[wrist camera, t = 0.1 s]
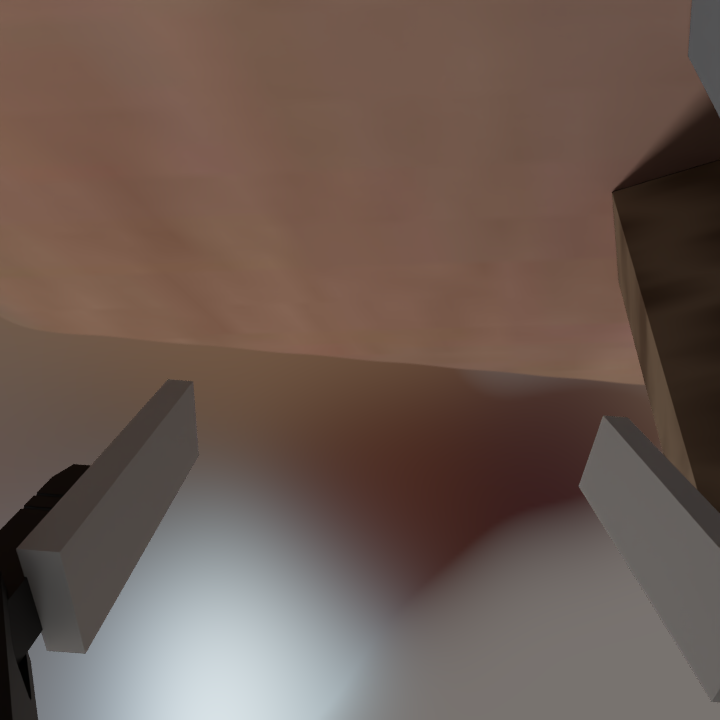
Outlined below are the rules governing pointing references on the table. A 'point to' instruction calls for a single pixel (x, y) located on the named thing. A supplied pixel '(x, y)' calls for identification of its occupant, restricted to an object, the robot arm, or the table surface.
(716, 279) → the walnut plinth
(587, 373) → the table surface
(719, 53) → the grey pedestal
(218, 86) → the table surface
